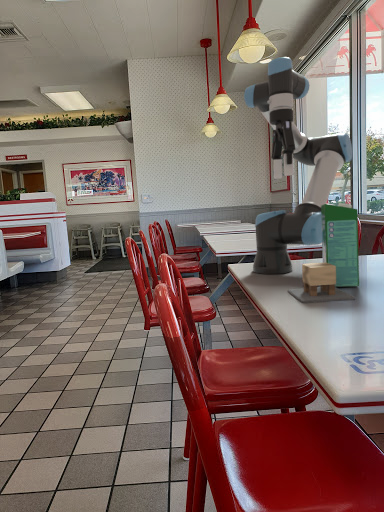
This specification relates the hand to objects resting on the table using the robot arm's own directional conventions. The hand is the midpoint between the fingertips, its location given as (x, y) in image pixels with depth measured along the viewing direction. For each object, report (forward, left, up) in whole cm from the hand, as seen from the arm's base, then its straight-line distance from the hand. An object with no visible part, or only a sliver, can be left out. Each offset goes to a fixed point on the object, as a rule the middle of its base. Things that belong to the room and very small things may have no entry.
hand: (283, 177), depth 126 cm
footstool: (+23, +3, -34) cm, 41 cm away
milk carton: (+13, +13, -35) cm, 39 cm away
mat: (+23, +3, -35) cm, 42 cm away
